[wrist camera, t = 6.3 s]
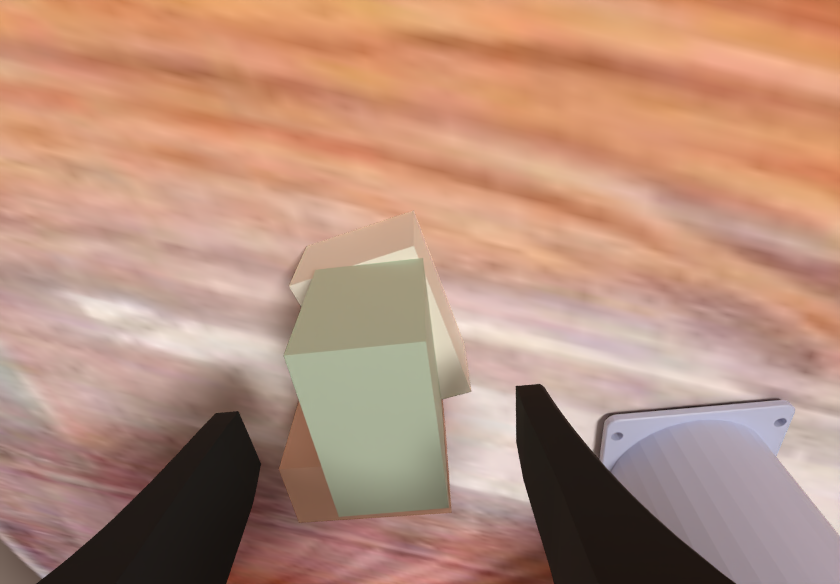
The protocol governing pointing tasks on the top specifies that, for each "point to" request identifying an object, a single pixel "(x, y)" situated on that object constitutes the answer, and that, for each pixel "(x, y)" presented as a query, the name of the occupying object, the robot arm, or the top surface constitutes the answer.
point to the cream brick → (385, 245)
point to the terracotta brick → (322, 478)
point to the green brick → (372, 387)
